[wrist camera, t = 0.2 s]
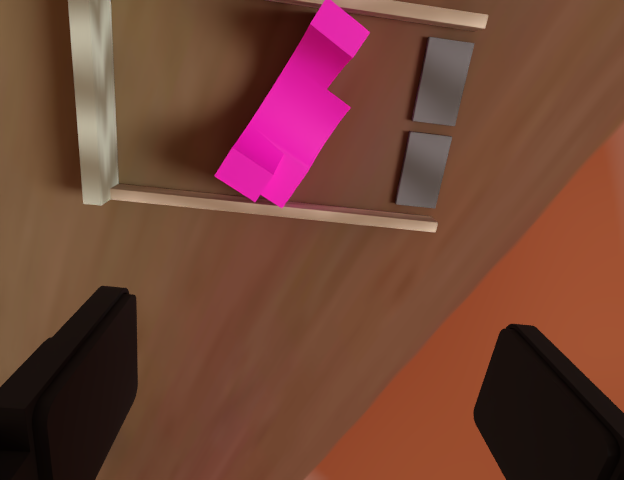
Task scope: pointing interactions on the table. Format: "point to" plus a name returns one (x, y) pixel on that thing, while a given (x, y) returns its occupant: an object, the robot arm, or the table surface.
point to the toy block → (295, 112)
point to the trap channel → (411, 191)
